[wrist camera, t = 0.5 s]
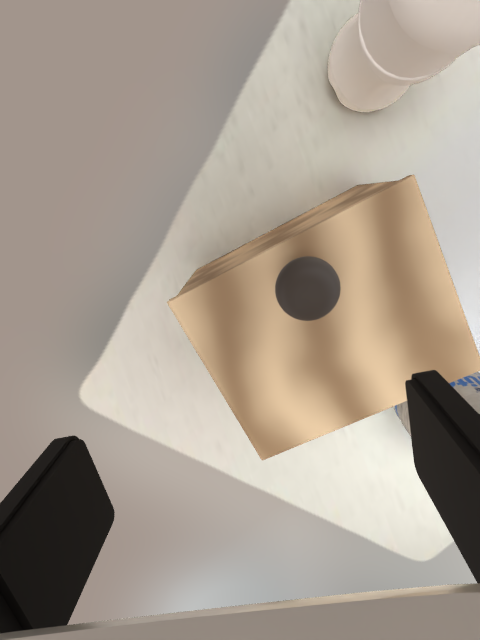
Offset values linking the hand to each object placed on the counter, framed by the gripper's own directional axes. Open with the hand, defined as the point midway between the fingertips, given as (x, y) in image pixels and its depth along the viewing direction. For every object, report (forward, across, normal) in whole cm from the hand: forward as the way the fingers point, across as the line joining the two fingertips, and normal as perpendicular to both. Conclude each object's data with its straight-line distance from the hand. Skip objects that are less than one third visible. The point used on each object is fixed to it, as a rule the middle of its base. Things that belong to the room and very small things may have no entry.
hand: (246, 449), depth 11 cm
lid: (+18, -4, +4) cm, 19 cm away
